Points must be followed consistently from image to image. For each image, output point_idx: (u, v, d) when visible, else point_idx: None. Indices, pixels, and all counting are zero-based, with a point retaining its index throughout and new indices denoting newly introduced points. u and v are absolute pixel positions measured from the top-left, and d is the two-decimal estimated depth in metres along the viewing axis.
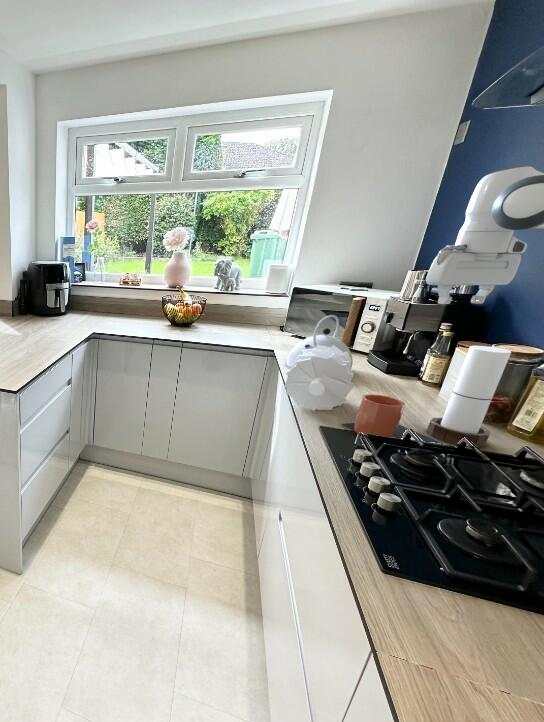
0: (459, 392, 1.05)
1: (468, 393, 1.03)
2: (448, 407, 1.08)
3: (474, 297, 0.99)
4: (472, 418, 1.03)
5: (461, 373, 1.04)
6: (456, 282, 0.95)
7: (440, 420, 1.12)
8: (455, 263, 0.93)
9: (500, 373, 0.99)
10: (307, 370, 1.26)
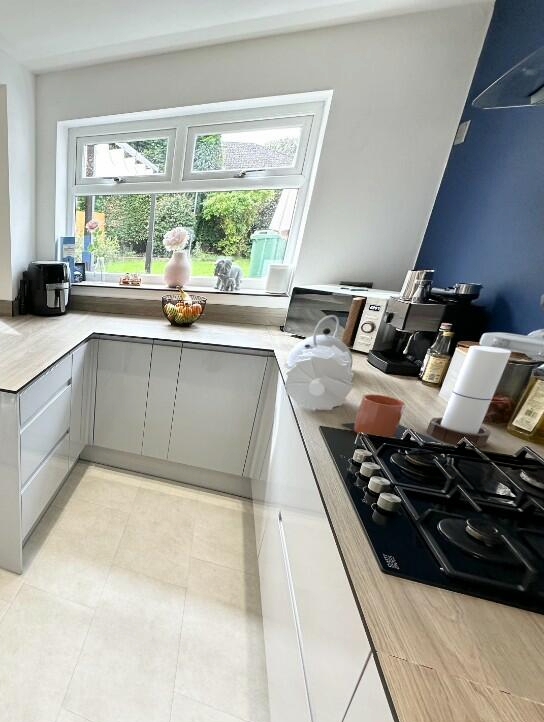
0: (459, 392, 1.05)
1: (468, 393, 1.03)
2: (448, 407, 1.08)
3: None
4: (472, 418, 1.03)
5: (461, 373, 1.04)
6: (504, 336, 1.10)
7: (440, 420, 1.12)
8: (504, 333, 1.13)
9: (500, 373, 0.99)
10: (307, 370, 1.26)
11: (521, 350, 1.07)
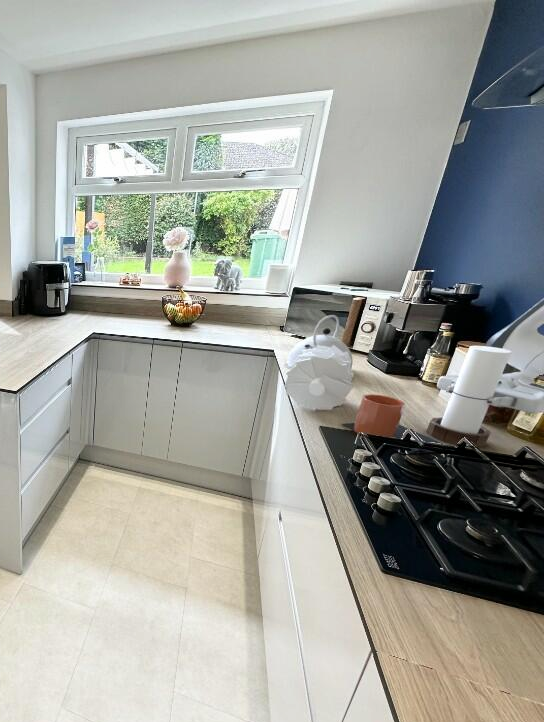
0: (459, 392, 1.05)
1: (468, 393, 1.03)
2: (448, 407, 1.08)
3: None
4: (472, 418, 1.03)
5: (461, 373, 1.04)
6: None
7: (440, 420, 1.12)
8: None
9: (500, 373, 0.99)
10: (307, 370, 1.26)
11: None
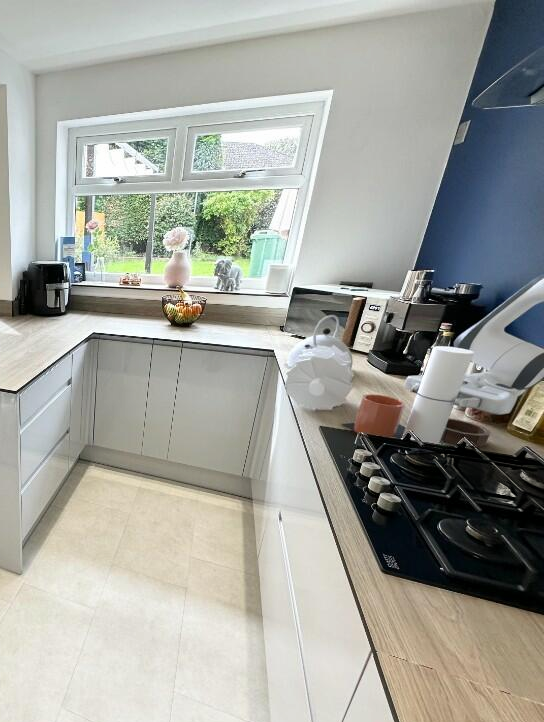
0: (423, 393, 1.02)
1: (431, 395, 1.01)
2: (413, 409, 1.05)
3: None
4: (436, 420, 1.01)
5: (425, 374, 1.02)
6: None
7: None
8: None
9: (463, 374, 0.97)
10: (307, 370, 1.26)
11: None
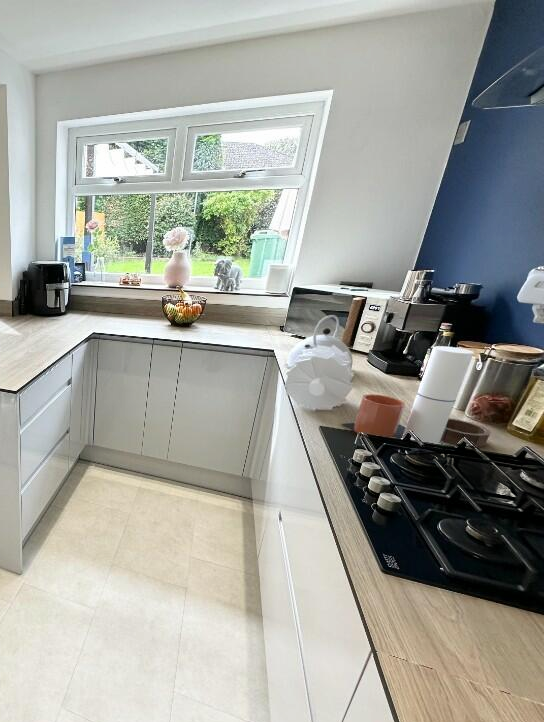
0: (423, 393, 1.02)
1: (431, 395, 1.01)
2: (413, 409, 1.05)
3: None
4: (436, 420, 1.01)
5: (425, 374, 1.02)
6: (538, 301, 1.00)
7: None
8: (534, 282, 1.01)
9: (463, 374, 0.97)
10: (307, 370, 1.26)
11: None
